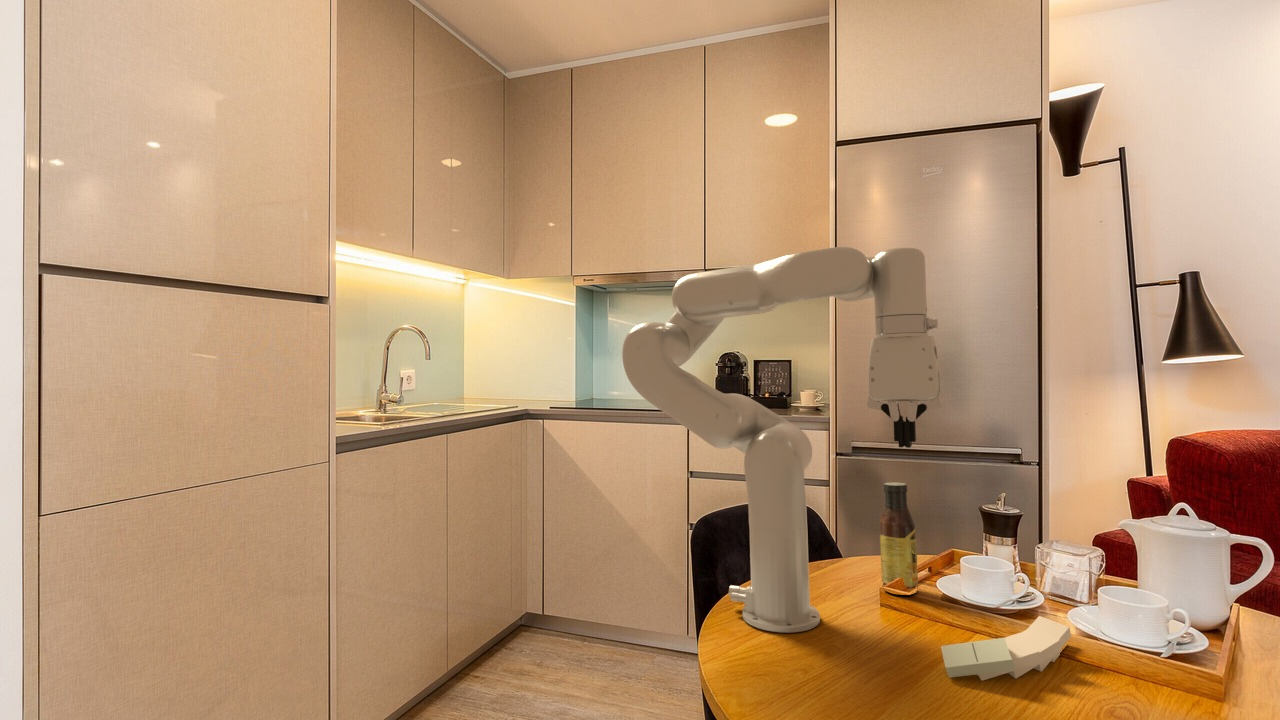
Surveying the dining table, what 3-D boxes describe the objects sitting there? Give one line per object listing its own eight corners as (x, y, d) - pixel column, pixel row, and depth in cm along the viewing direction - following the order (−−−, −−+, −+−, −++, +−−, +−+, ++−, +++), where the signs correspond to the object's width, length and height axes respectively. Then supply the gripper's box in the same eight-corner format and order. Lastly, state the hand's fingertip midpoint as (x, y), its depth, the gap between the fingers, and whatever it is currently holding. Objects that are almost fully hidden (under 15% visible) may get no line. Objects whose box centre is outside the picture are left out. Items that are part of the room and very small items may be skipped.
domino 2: (1013, 668, 82) (1059, 639, 84) (988, 651, 86) (1034, 624, 88) (1016, 679, 83) (1062, 650, 84) (991, 662, 86) (1036, 635, 88)
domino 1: (978, 670, 82) (1038, 651, 81) (963, 650, 86) (1021, 632, 85) (982, 681, 82) (1042, 662, 82) (966, 661, 86) (1024, 642, 85)
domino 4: (1052, 650, 87) (1068, 633, 92) (1020, 642, 90) (1037, 625, 95) (1053, 663, 87) (1068, 644, 92) (1020, 654, 90) (1037, 637, 95)
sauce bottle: (922, 598, 112) (918, 487, 113) (885, 596, 114) (881, 486, 114) (913, 586, 119) (910, 481, 119) (879, 585, 120) (875, 480, 121)
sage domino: (945, 667, 83) (1011, 659, 80) (940, 645, 86) (1004, 637, 83) (949, 678, 83) (1015, 670, 80) (944, 656, 86) (1008, 648, 84)
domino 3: (1039, 662, 84) (1069, 627, 87) (1009, 648, 87) (1039, 615, 91) (1041, 672, 84) (1071, 637, 88) (1011, 658, 88) (1041, 625, 91)
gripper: (955, 327, 98) (960, 445, 97) (855, 332, 105) (859, 442, 104) (953, 324, 91) (958, 451, 91) (846, 330, 98) (850, 447, 98)
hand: (905, 446), depth 98 cm, fingers closed
